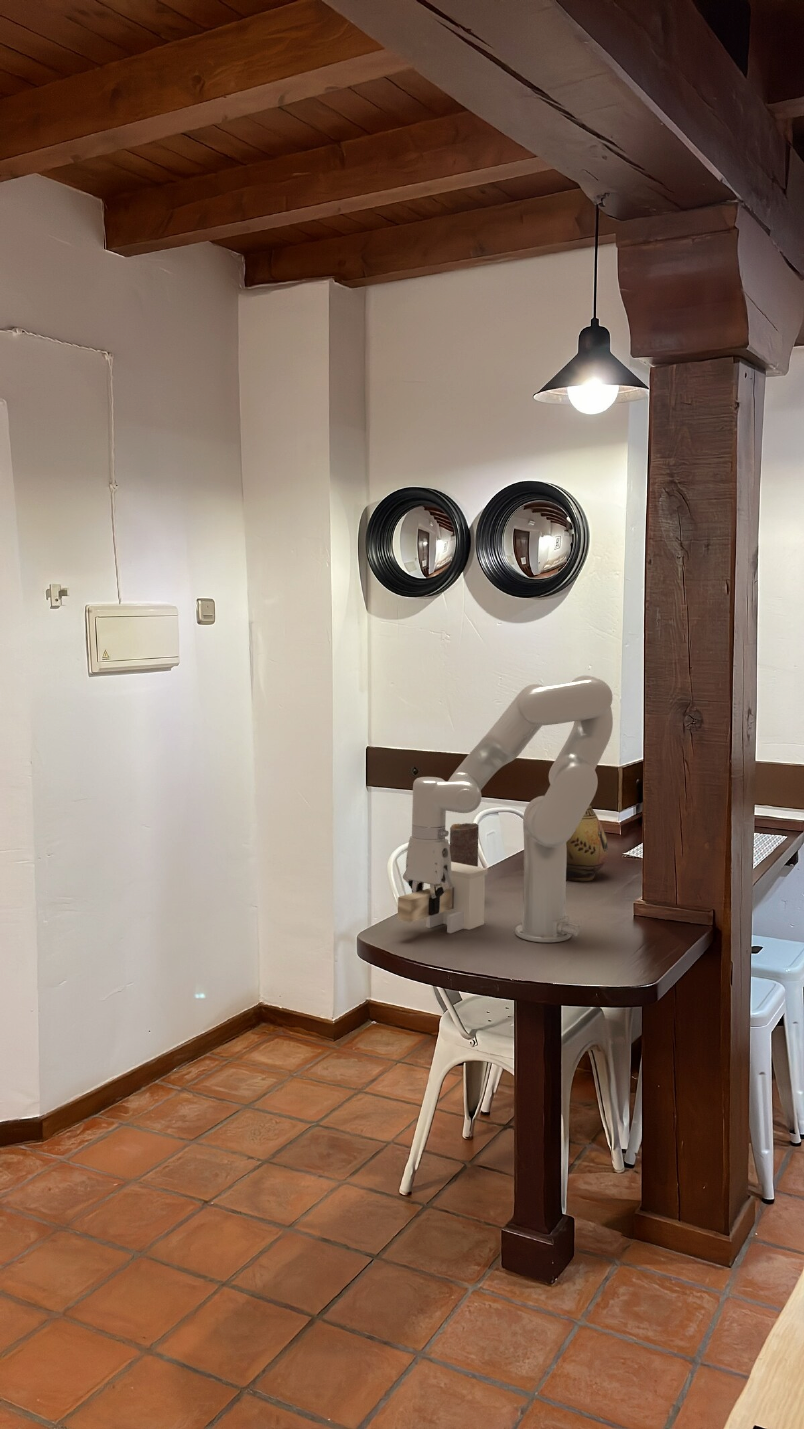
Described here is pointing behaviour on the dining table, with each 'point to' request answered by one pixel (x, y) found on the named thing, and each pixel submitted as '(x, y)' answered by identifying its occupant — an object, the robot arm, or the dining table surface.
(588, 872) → the ceramic jug
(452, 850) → the candle
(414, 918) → the wooden block
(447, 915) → the white upright pillar
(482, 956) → the dining table surface
